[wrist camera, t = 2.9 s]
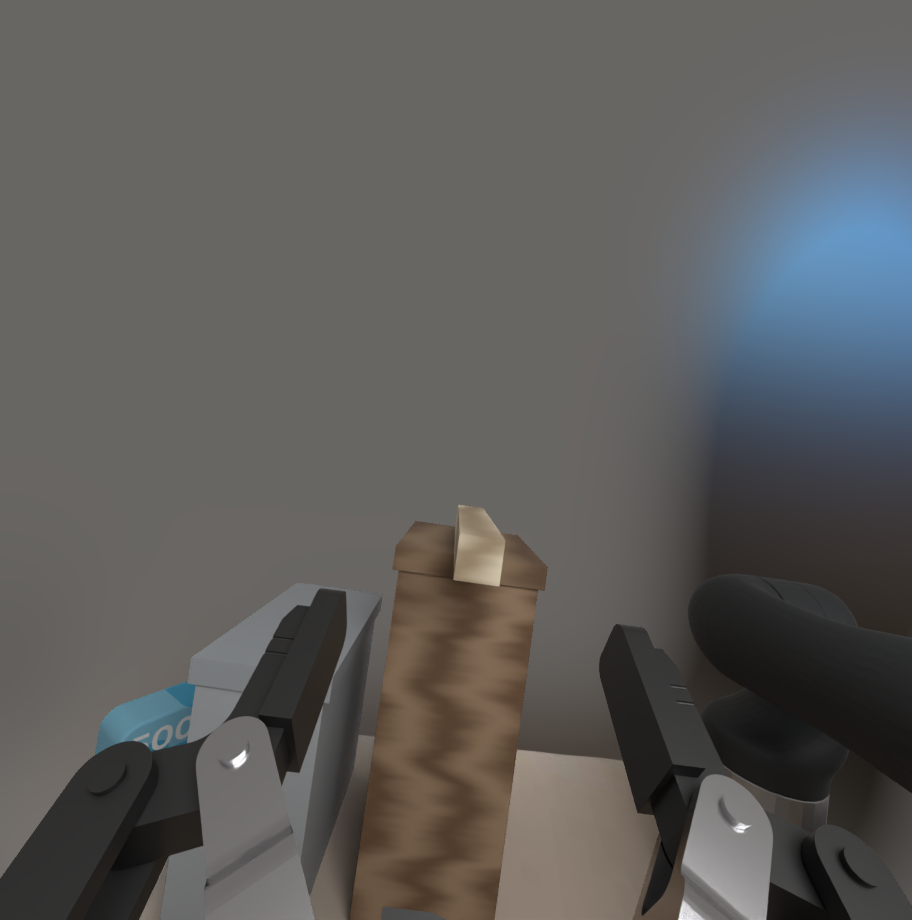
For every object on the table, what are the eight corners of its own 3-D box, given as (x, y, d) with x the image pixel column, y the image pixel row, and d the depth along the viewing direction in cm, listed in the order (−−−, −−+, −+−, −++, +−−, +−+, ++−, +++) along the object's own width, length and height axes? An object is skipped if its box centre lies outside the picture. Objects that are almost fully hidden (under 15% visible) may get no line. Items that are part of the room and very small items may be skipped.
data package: (99, 869, 35) (120, 732, 35) (80, 838, 37) (101, 710, 38) (233, 786, 45) (249, 680, 46) (212, 766, 48) (227, 665, 48)
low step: (357, 767, 50) (382, 594, 51) (290, 970, 30) (332, 677, 31) (272, 755, 51) (297, 582, 51) (146, 949, 30) (191, 657, 31)
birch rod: (479, 533, 48) (483, 508, 48) (499, 586, 26) (505, 540, 26) (454, 529, 48) (458, 504, 48) (453, 580, 26) (459, 533, 26)
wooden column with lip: (483, 791, 49) (517, 535, 50) (496, 952, 33) (547, 567, 34) (379, 776, 49) (415, 521, 50) (341, 930, 33) (395, 545, 34)
